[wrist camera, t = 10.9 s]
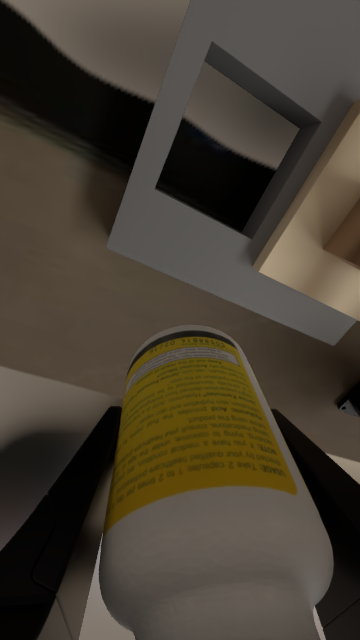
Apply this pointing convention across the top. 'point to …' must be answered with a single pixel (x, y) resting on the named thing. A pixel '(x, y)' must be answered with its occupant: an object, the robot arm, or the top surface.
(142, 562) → the supplement bottle
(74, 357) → the top surface
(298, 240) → the lid
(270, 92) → the board
